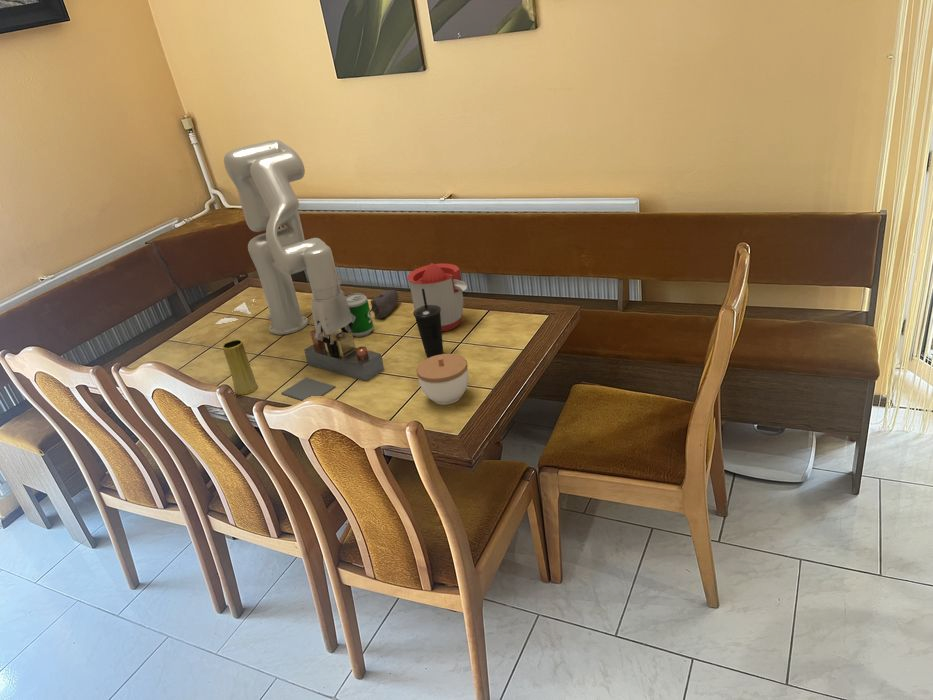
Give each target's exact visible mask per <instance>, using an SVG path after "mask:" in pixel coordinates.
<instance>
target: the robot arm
mask: <svg viewBox="0 0 933 700" xmlns="http://www.w3.org/2000/svg"><path fill="white" fill-rule="evenodd" d="M223 163H224V168H225V171H226V174H227V175H228V177H229V178H230V180H231V181H232V183H233V185H234V186H235V187H236V190H237V193H238V197H239V200H240V204H241V209H242V212H243V216H244V220H245V223H246V226H248V228H249V230H250V231H252V232H255V233H260V232H265V233H261V234H258V235H256V236H254V237H253V238H251V239H250V240H249V242H248V244H247V251H248V253H249V256H250V258H251V260H252V262H253V264H254V267H255V269H256V271H257V275H258V277H259V282H260V284H261V287H262V291H263V293H264V297H265V300H266V304H267V308H268V311H269V314H267V316H266V318H267V319H268V320H270V322H271V324H270V325H269V328H268V329H269V332H270V333H271V334H272V335H278V336H280V335H288V334H289V335H290V334H293V333H297V332H299V331H301V330H302V329H304V328H305V327H307V326H308V324H309V320H308V318H307V316H304V315H302V312H301V311H302V310H301V307H300V305H299V300H298V296H297V294H296V293H297V292H296V290H295V289H296V288H295V286H294V285H295V284H294V282H293V278H292V275H294V274H295V275H296V274H297V273H300V272H303V271H306V275H307V278H308V281H309V286H310V289H311V293H312V300H311V314H312V319H313V325H314V329H316V334H315V339H316V340H320V341H322V342H324V343H326V344H327V348H328V352H329V354H330V355H332V356H336V357H337V356H339V354H338V350H337V346H336V343H334V332H336V331H341V332H346V333H350V334H351V328H352V326H353V322H354V320H355V318H356V317H355V316H354V315H353V314H352V313H351V312H350V309H349V305H348V303H347V300H346V296H345V293H344V291H343V290H342V289H341V285H342V281H341V279H339V277H338V273H337V269H336V265H335V261H334V256H333V255H334V254H333V252H332V249H331V247H330V246H329V245H327V244H326V243H325V241H323V240H322V239H321V238H319V237H311V238H309V239H305V235H304V230H303V226H302V221H301V217H300V216H301V215H300V212H299V208H300V201H299V199H298V197H297V195H296V194H295V191H294V189H293V188H292V185H291V183H292V182H296V181H300V180H302V179H303V178H304V177H305V174H306V173H305V172H306V171H305V166H304V165H305V164H304V162H303V160H302V158H301V157H300V155H299V154H298V153H297V152H296V151H295V150H294V149H293V148H292V147H290V146H289V145H287V144H285V143H284V142H283V141H281V140H279V139H272V140H267V141H263V142H258V143H256V144H255V143H254V144H249V145H246V146H245V145H244V146H241V147H238V148H235V149H232V150H230V151H228V152H227V153H225V154H224V156H223ZM281 226H284V227H282V228H280V227H281ZM322 333H323V336H324V337H323V336H322ZM328 335H329V339H328Z"/></svg>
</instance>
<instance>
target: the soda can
mask: <svg viewBox="0 0 933 700" xmlns="http://www.w3.org/2000/svg"><path fill="white" fill-rule="evenodd" d="M345 297H346V300H347V303H348V305H349V309H350V312H351V313H352V314H353V315H354V316H355V317H356V318H355V320H354V322H353V326H352V328H351V334H352V335H353V337H357V338H358V337H359V338H361V337H366V336H369V335H370V334H371V333H372V331H373V330H374V323H373V319H372V314H371V313H372V312H371V310H370V306H369V301H368V297H367V296H366V295H364V294H363V293H361V292H359V293H357V292H356V293H352V294H348V295H347V296H345Z"/></svg>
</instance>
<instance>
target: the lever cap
mask: <svg viewBox="0 0 933 700" xmlns="http://www.w3.org/2000/svg"><path fill="white" fill-rule="evenodd" d="M328 339H329V335H328ZM334 343H336V346H337V350H338V354H339V357H343V358H344V357H345V356H344V355H346V354H347V353H349V352H351V351H352V350H354V349H356V348H357V347H356V344H355V340H354V335H352V334H350V333H346V332H342V331H341V330H338V331H336V332H334ZM325 347H326V351H327V353H328V354H329V352H328V348H327V344H326V343H325Z"/></svg>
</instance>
